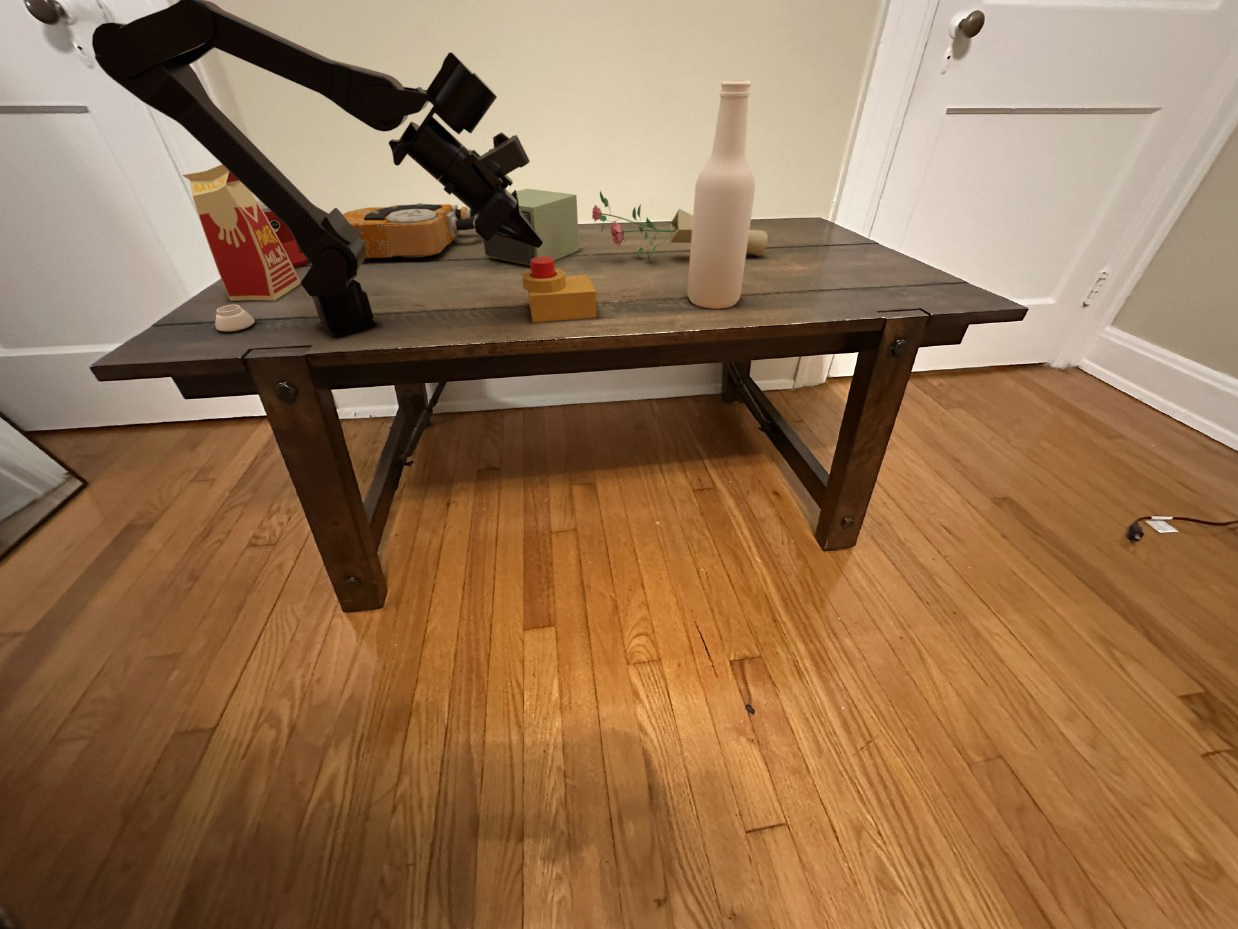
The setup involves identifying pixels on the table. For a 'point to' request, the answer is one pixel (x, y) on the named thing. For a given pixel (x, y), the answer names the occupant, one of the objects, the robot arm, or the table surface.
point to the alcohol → (723, 207)
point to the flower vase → (674, 230)
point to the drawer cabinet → (551, 222)
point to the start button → (542, 267)
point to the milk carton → (241, 238)
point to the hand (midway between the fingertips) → (540, 244)
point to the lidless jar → (232, 318)
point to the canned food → (285, 238)
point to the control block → (560, 297)
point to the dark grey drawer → (509, 247)
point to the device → (409, 228)
